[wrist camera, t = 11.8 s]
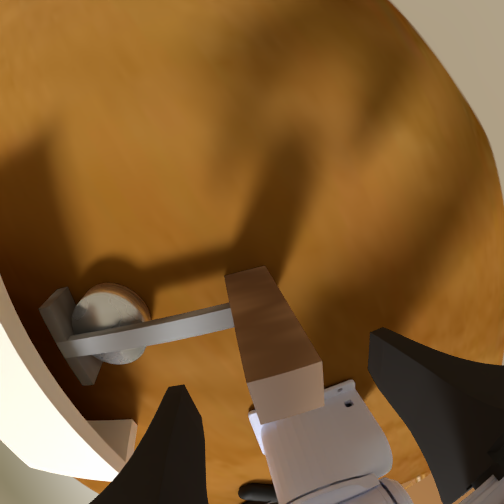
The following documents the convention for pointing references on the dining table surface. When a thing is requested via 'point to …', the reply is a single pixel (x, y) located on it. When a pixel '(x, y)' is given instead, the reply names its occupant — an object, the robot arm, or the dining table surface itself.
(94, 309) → the grey round disc
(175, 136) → the dining table surface
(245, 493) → the door handle
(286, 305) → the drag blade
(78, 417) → the white bridge block
